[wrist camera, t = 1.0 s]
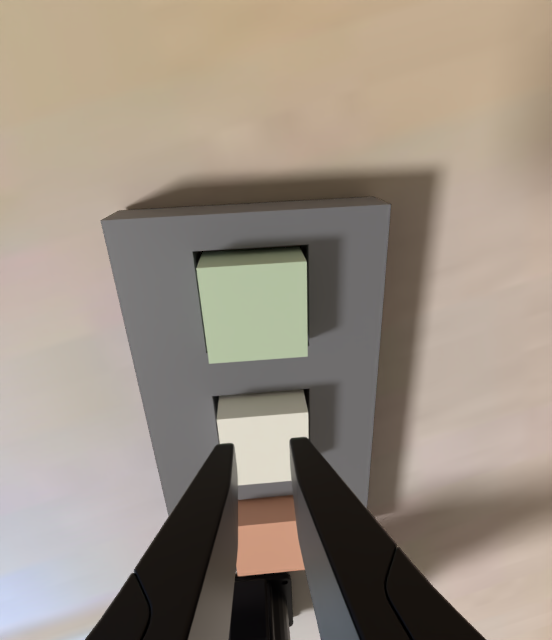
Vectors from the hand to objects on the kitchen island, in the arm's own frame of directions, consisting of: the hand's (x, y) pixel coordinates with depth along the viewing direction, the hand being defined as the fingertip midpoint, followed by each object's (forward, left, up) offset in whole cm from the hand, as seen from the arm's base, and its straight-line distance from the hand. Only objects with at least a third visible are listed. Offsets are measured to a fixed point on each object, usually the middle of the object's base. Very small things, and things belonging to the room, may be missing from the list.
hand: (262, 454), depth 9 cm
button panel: (-7, 0, -12) cm, 14 cm away
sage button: (0, 0, -11) cm, 11 cm away
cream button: (-7, 0, -11) cm, 13 cm away
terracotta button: (-15, 0, -11) cm, 18 cm away
